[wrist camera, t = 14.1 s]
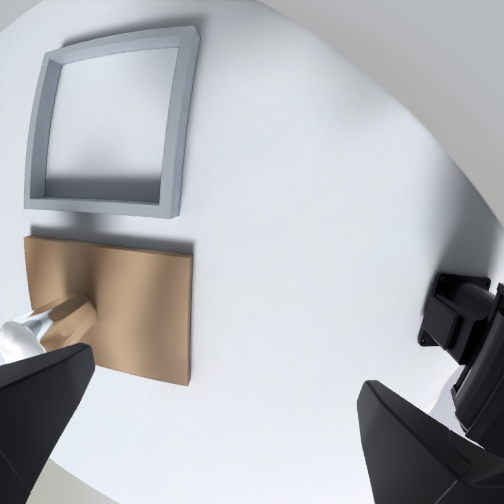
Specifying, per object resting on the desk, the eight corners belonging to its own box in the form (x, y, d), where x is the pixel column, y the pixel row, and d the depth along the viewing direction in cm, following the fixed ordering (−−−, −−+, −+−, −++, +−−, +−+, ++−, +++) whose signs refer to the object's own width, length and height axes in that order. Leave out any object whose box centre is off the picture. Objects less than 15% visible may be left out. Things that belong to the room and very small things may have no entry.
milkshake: (63, 266, 21) (-24, 310, 11) (111, 306, 21) (34, 373, 12) (50, 305, 22) (-25, 356, 12) (93, 342, 22) (28, 411, 13)
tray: (200, 37, 18) (194, 25, 16) (178, 215, 21) (170, 218, 19) (57, 59, 18) (45, 53, 16) (38, 206, 21) (23, 208, 19)
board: (193, 254, 21) (189, 258, 20) (190, 379, 24) (187, 386, 23) (30, 235, 22) (23, 237, 21) (44, 341, 24) (39, 345, 23)
